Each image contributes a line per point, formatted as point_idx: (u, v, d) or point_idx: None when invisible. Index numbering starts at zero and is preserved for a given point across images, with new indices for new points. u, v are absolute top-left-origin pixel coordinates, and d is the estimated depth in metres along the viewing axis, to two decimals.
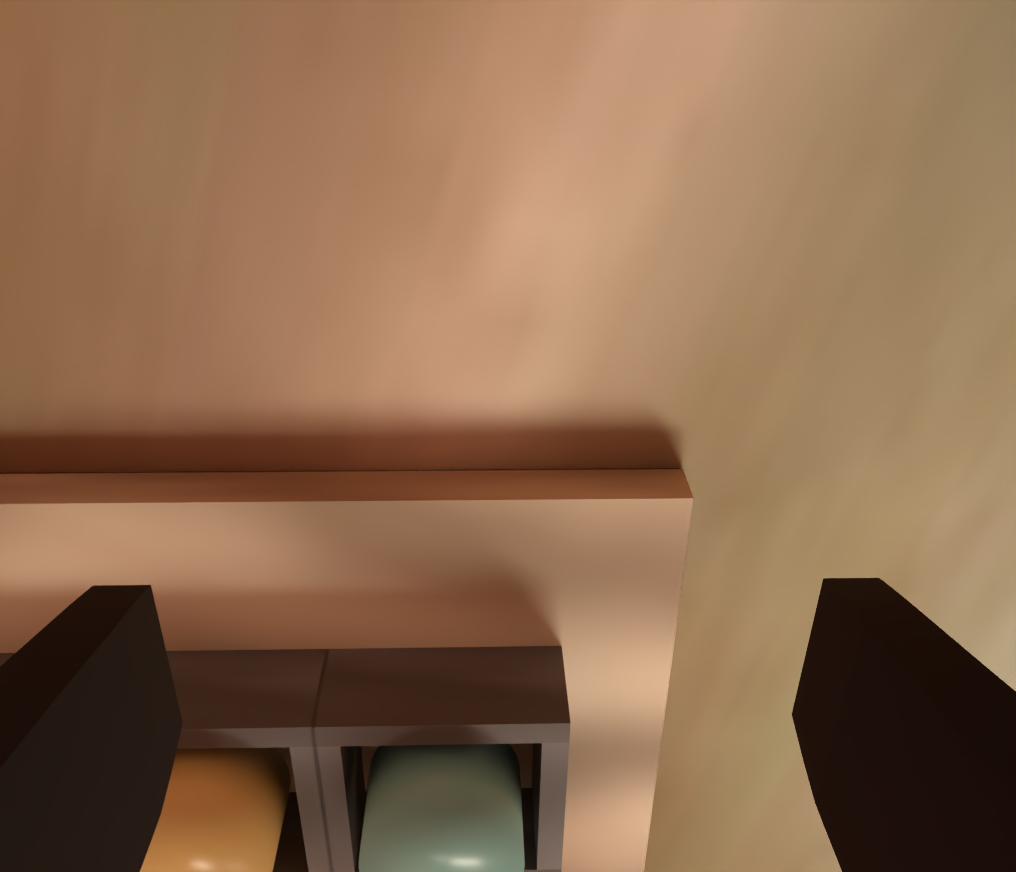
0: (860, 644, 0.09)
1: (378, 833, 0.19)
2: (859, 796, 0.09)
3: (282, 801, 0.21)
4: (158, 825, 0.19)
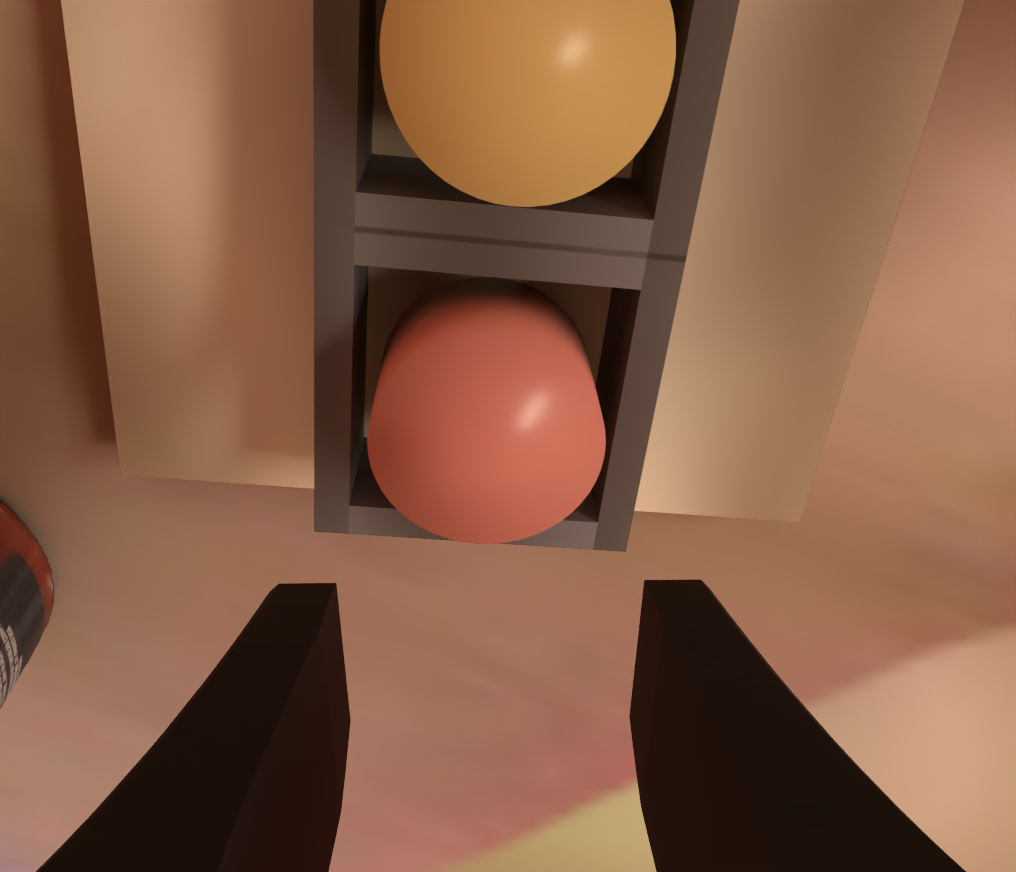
0: (662, 646, 0.09)
1: None
2: (665, 799, 0.09)
3: None
4: (400, 74, 0.11)
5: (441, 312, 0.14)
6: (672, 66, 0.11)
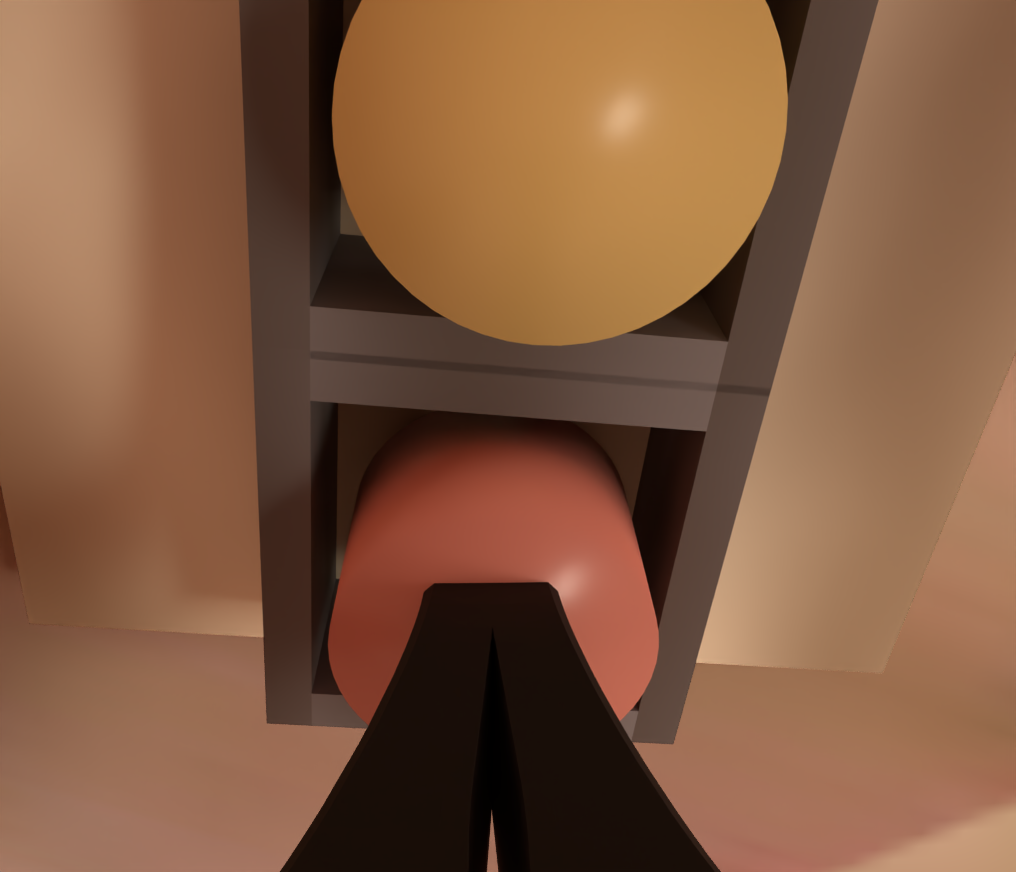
0: (492, 649, 0.09)
1: None
2: (499, 802, 0.09)
3: None
4: (365, 159, 0.07)
5: (431, 461, 0.10)
6: (779, 146, 0.07)
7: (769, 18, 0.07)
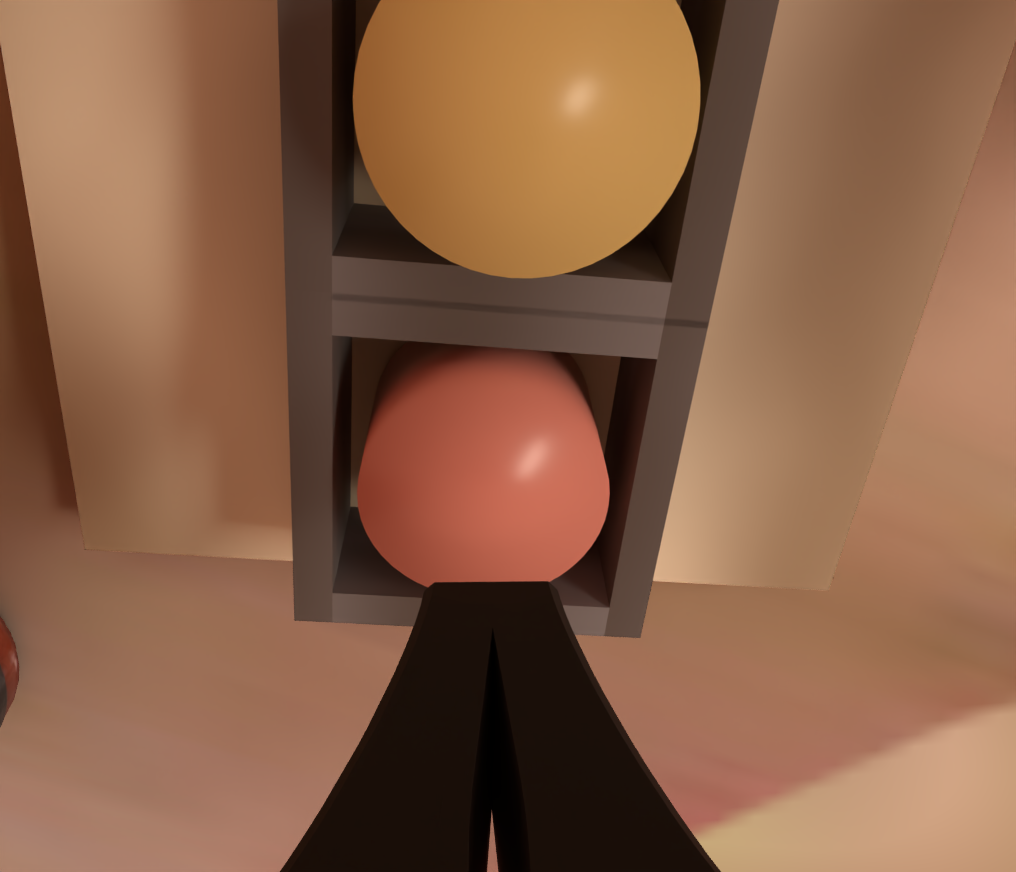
0: (492, 648, 0.09)
1: None
2: (499, 802, 0.09)
3: None
4: (378, 131, 0.10)
5: (434, 355, 0.13)
6: (696, 118, 0.10)
7: (682, 20, 0.09)
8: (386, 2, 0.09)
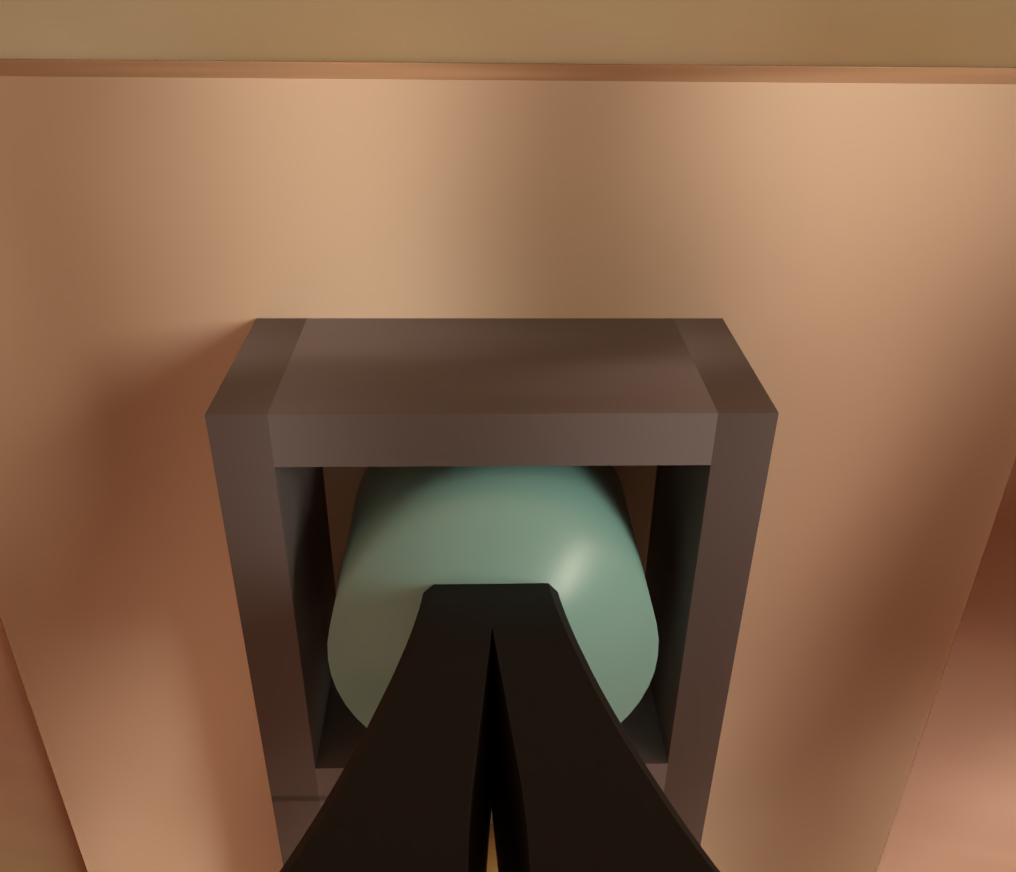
0: (492, 648, 0.09)
1: None
2: (498, 802, 0.09)
3: None
4: None
5: None
6: None
7: None
8: None
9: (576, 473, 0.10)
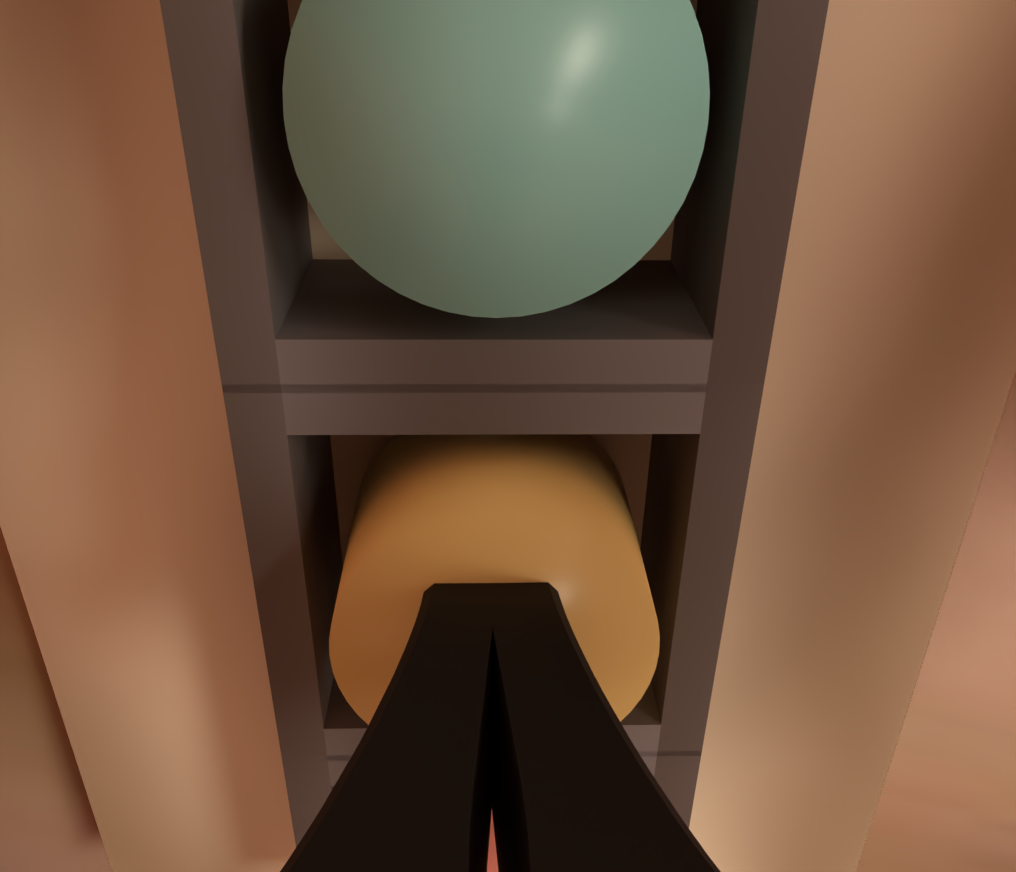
0: (492, 648, 0.09)
1: (371, 267, 0.08)
2: (499, 802, 0.09)
3: (477, 438, 0.11)
4: (356, 677, 0.10)
5: None
6: (657, 642, 0.10)
7: (636, 573, 0.10)
8: (352, 588, 0.10)
9: None
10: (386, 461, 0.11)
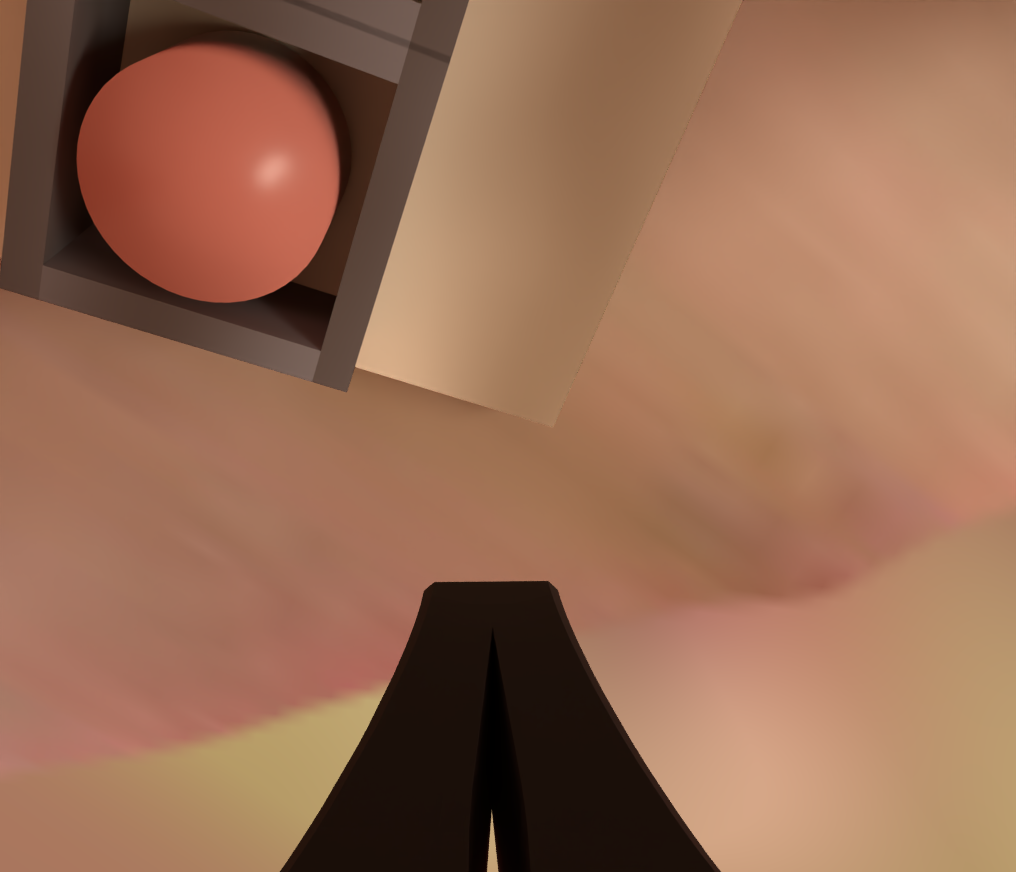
0: (493, 648, 0.09)
1: None
2: (499, 802, 0.09)
3: None
4: None
5: (191, 40, 0.14)
6: None
7: None
8: None
9: None
10: None
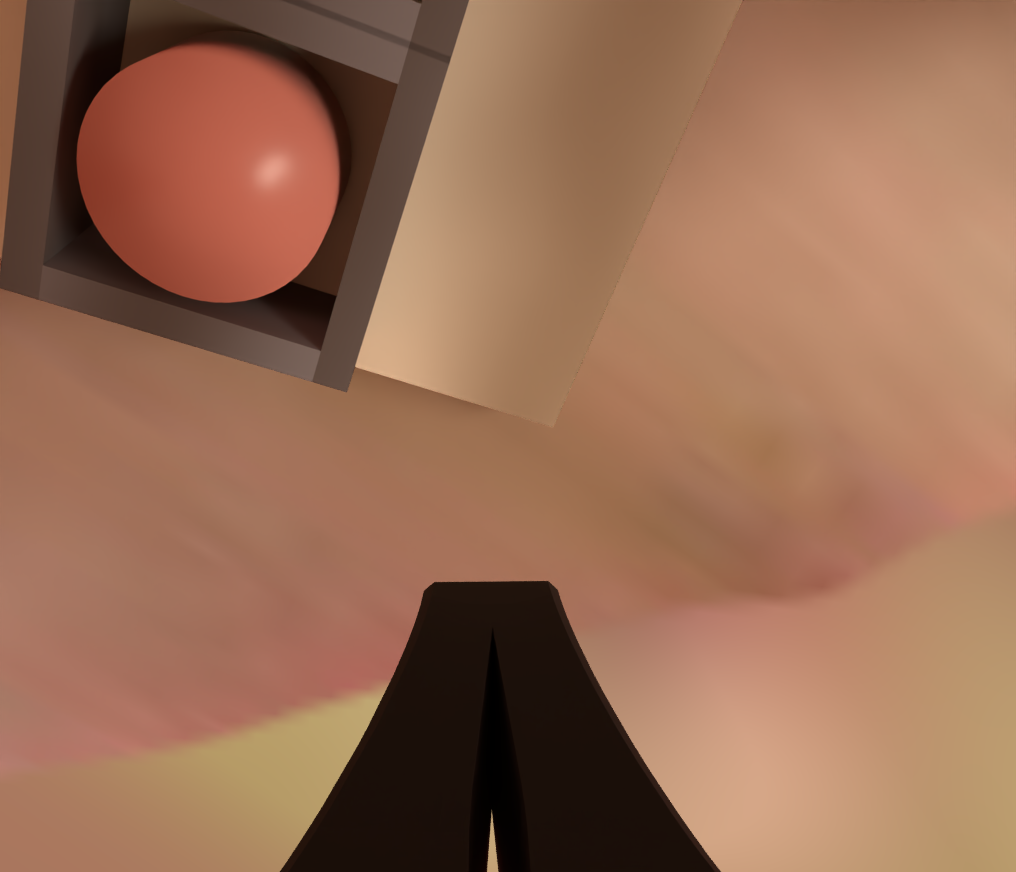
0: (493, 648, 0.09)
1: None
2: (499, 802, 0.09)
3: None
4: None
5: (191, 40, 0.14)
6: None
7: None
8: None
9: None
10: None
